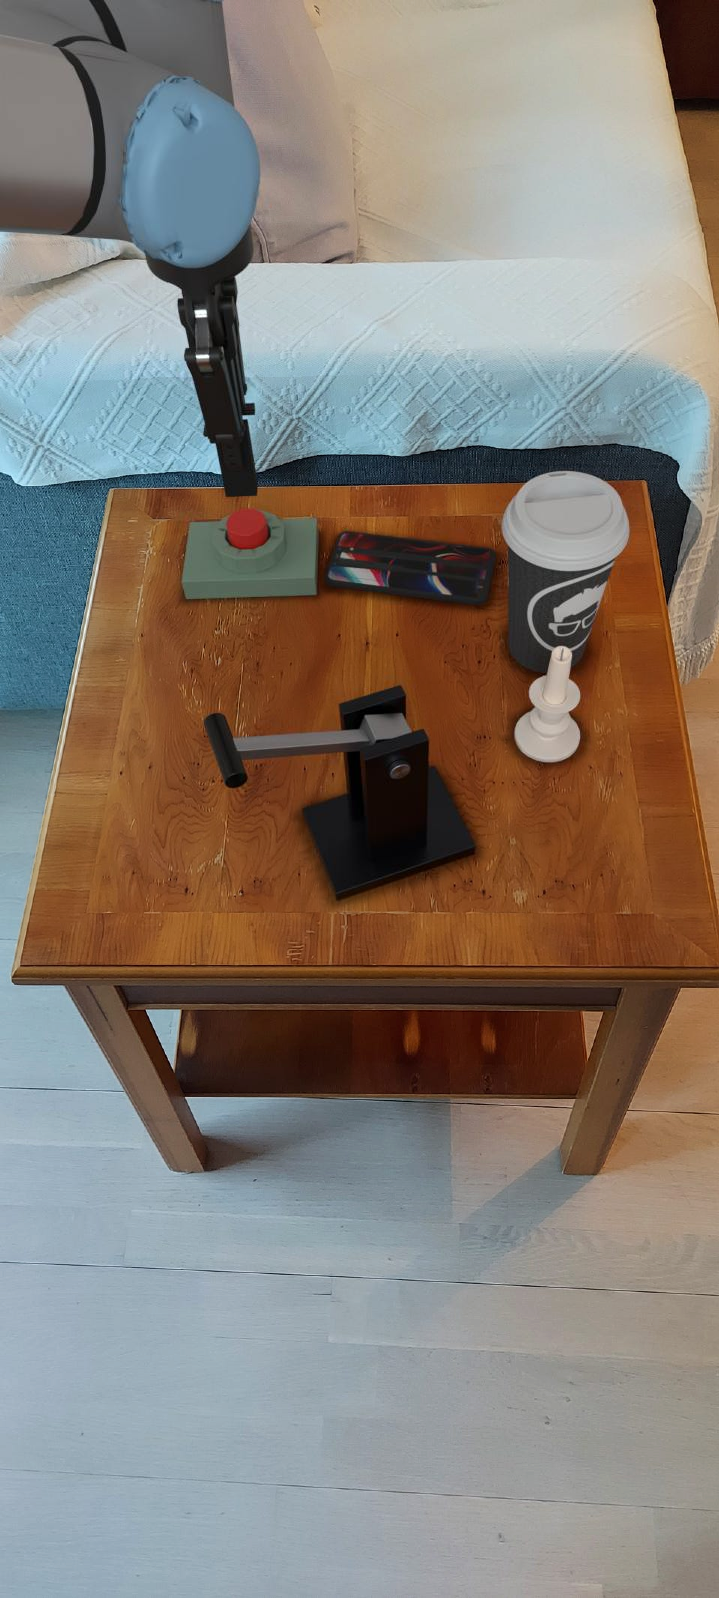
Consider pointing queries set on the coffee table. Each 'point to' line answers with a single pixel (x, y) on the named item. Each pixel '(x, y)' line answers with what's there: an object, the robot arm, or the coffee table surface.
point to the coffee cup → (559, 562)
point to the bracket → (385, 809)
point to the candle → (551, 713)
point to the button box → (252, 561)
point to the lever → (294, 742)
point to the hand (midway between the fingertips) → (242, 490)
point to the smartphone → (411, 567)
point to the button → (247, 529)
